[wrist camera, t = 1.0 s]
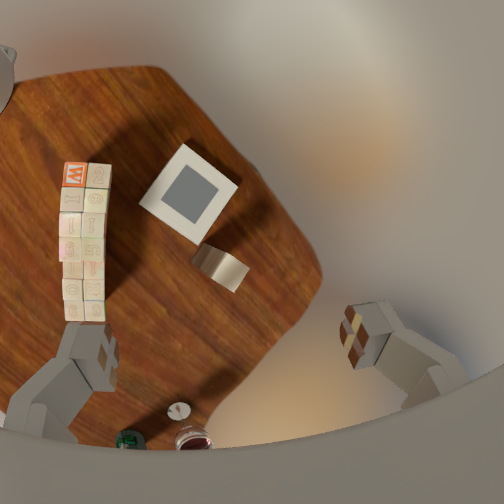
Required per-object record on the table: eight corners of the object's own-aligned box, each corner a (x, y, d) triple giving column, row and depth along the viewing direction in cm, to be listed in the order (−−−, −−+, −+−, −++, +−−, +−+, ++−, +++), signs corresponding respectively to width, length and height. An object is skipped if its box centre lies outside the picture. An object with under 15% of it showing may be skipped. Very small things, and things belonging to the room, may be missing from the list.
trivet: (137, 203, 47) (138, 203, 45) (180, 145, 48) (183, 143, 46) (195, 243, 52) (198, 245, 50) (233, 187, 53) (238, 186, 52)
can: (125, 425, 51) (136, 477, 38) (148, 437, 53) (164, 487, 40) (110, 441, 50) (119, 493, 36) (133, 452, 52) (147, 502, 39)
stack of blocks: (105, 302, 47) (105, 331, 36) (71, 300, 44) (61, 329, 33) (112, 172, 44) (112, 163, 33) (76, 170, 41) (64, 160, 30)
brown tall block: (189, 261, 52) (211, 278, 41) (202, 241, 53) (227, 253, 42) (208, 273, 54) (233, 292, 43) (220, 254, 54) (249, 268, 44)
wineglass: (197, 400, 57) (218, 436, 46) (191, 423, 57) (209, 460, 47) (166, 397, 54) (181, 436, 43) (160, 422, 54) (175, 461, 44)
